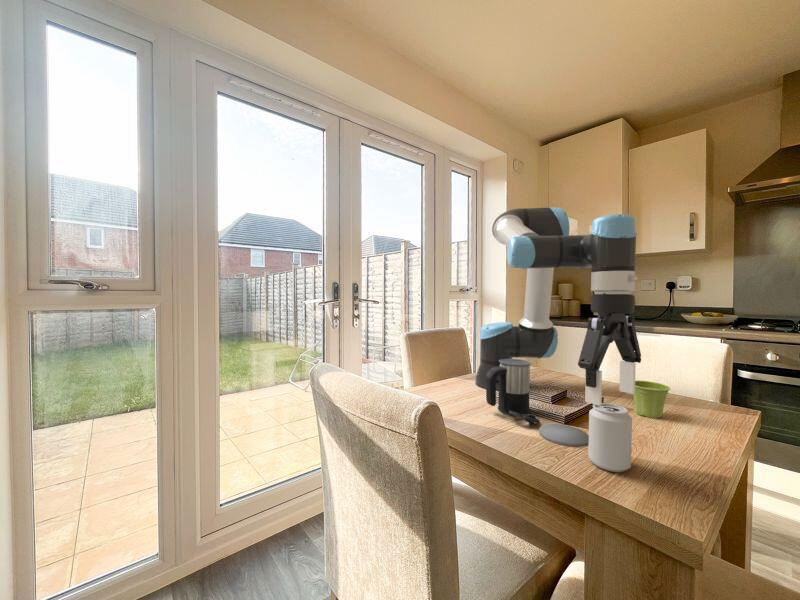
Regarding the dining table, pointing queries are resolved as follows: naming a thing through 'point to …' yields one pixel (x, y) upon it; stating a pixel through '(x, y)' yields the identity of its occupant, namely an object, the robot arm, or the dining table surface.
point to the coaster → (564, 435)
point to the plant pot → (650, 398)
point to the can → (610, 437)
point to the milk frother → (511, 388)
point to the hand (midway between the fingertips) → (611, 397)
